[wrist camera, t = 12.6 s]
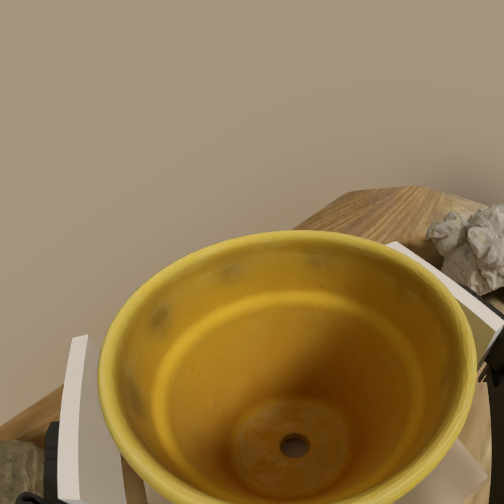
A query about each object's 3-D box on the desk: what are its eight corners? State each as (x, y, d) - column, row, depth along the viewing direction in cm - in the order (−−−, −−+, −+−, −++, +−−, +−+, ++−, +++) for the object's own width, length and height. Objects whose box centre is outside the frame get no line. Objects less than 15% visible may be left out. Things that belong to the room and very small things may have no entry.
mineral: (444, 219, 34) (437, 163, 28) (549, 254, 21) (566, 198, 15) (410, 292, 32) (398, 243, 25) (528, 344, 19) (557, 303, 12)
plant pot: (399, 383, 14) (444, 234, 9) (370, 552, 6) (490, 537, 1) (236, 360, 18) (201, 221, 13) (161, 499, 10) (28, 403, 5)
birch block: (205, 602, 6) (181, 612, 4) (154, 408, 19) (132, 379, 17) (456, 494, 9) (488, 476, 7) (343, 346, 23) (347, 311, 21)
